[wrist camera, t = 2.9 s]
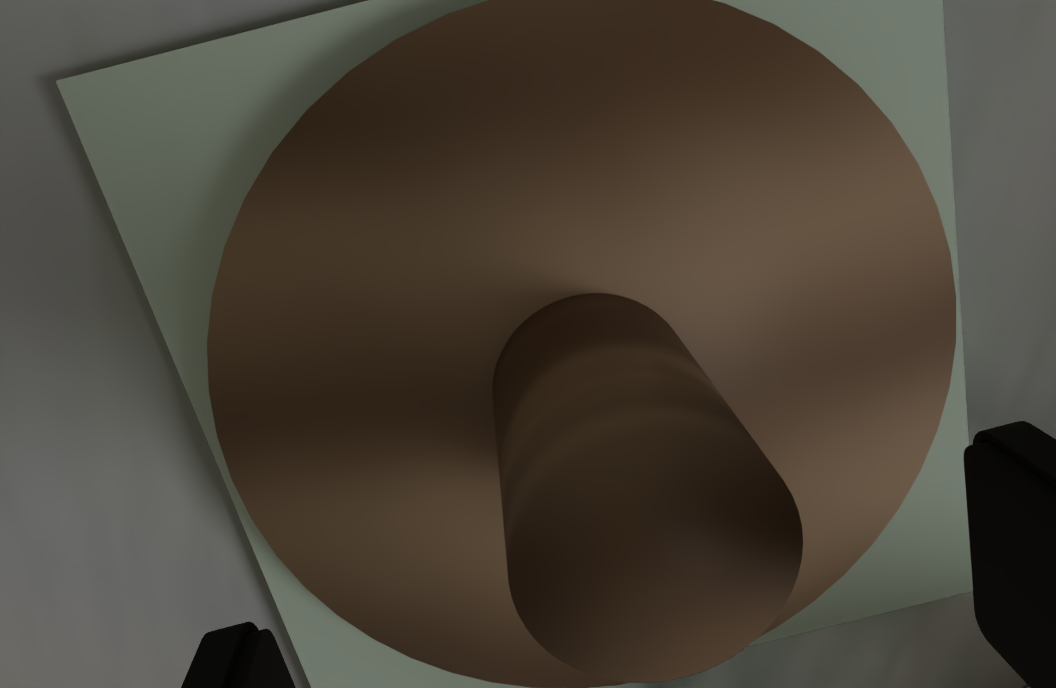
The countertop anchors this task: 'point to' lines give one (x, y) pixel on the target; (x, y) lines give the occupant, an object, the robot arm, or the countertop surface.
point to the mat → (309, 72)
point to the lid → (581, 338)
